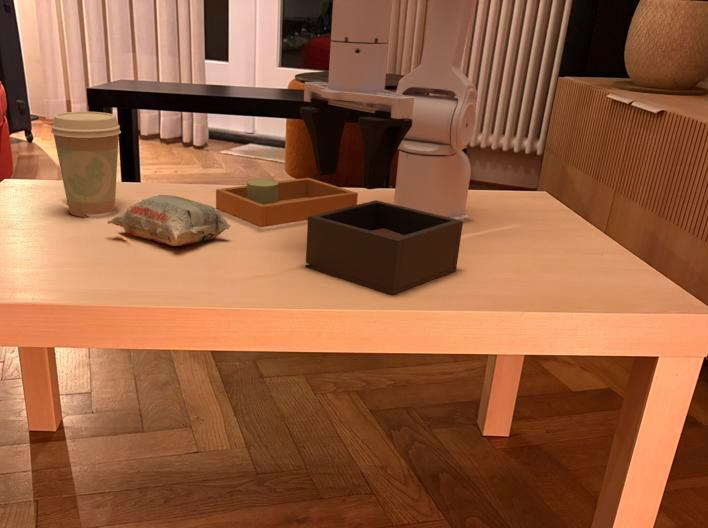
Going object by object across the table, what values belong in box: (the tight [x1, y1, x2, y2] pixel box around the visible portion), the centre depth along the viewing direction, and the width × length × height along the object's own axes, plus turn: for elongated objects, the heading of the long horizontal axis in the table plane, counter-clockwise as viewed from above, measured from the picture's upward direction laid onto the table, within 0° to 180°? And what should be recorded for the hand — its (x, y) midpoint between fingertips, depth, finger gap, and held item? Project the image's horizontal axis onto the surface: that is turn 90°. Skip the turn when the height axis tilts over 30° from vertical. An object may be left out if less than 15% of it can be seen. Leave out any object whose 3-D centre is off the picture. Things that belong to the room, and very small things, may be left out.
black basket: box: [305, 199, 464, 296], centre depth 82 cm, size 12×12×6 cm
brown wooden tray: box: [215, 177, 359, 228], centre depth 103 cm, size 16×11×3 cm
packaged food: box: [107, 194, 231, 247], centre depth 89 cm, size 9×12×5 cm
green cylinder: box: [246, 178, 279, 205], centre depth 100 cm, size 4×4×4 cm
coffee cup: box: [50, 111, 122, 218], centre depth 98 cm, size 9×8×12 cm
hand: (349, 180), depth 82 cm, fingers open, 7 cm apart
